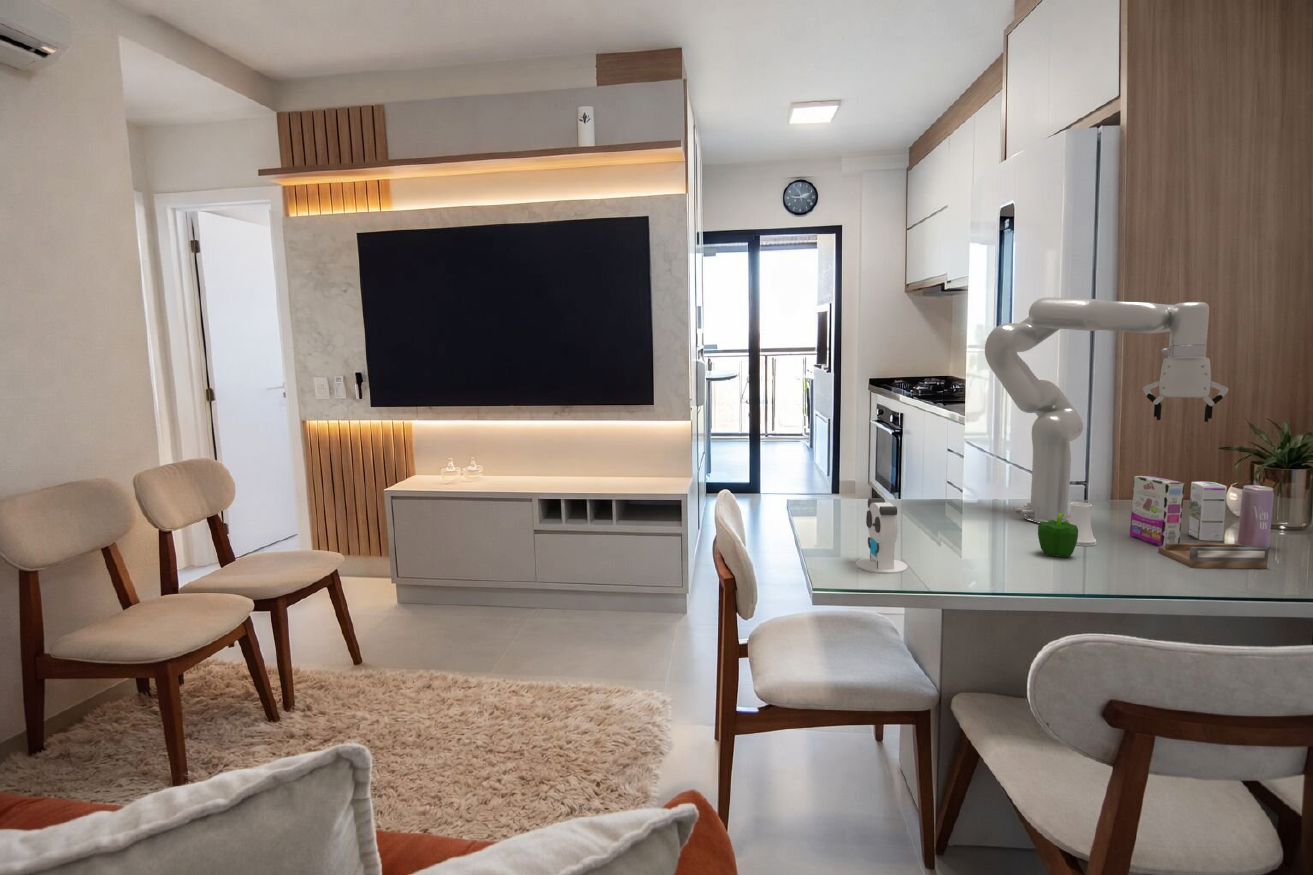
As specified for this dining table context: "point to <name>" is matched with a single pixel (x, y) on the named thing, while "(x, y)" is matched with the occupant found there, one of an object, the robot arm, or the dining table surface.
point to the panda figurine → (881, 538)
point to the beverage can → (1255, 516)
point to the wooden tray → (1216, 555)
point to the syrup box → (1207, 511)
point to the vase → (1082, 523)
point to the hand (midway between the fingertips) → (1182, 420)
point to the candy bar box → (1156, 510)
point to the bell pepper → (1057, 537)
